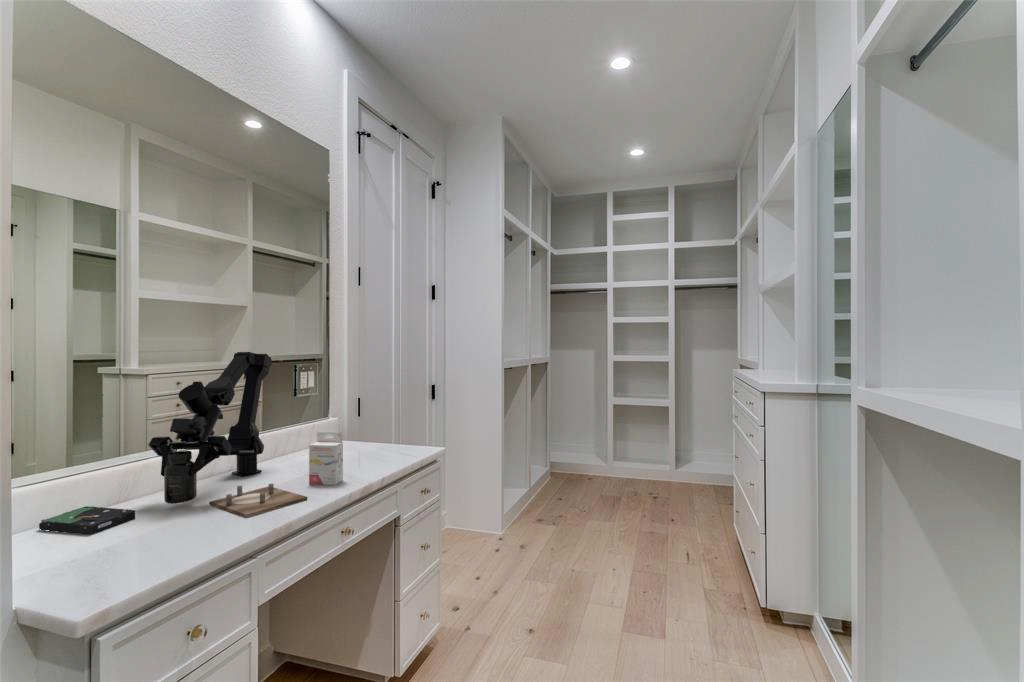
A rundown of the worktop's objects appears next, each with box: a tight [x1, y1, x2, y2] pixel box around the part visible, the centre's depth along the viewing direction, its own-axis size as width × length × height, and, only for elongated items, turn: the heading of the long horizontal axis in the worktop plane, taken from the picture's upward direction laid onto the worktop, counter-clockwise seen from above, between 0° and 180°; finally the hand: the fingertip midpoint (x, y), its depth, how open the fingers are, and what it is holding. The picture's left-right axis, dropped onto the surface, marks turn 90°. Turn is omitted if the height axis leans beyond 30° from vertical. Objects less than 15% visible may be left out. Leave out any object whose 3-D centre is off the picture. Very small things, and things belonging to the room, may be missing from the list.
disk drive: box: [38, 506, 136, 536], centre depth 113 cm, size 10×3×15 cm
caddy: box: [208, 483, 308, 519], centre depth 128 cm, size 18×16×3 cm
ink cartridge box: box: [308, 431, 344, 486], centre depth 146 cm, size 9×5×15 cm, turn 84°
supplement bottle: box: [163, 450, 198, 505], centre depth 124 cm, size 7×7×12 cm
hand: (176, 475), depth 123 cm, fingers closed on supplement bottle, 7 cm apart
